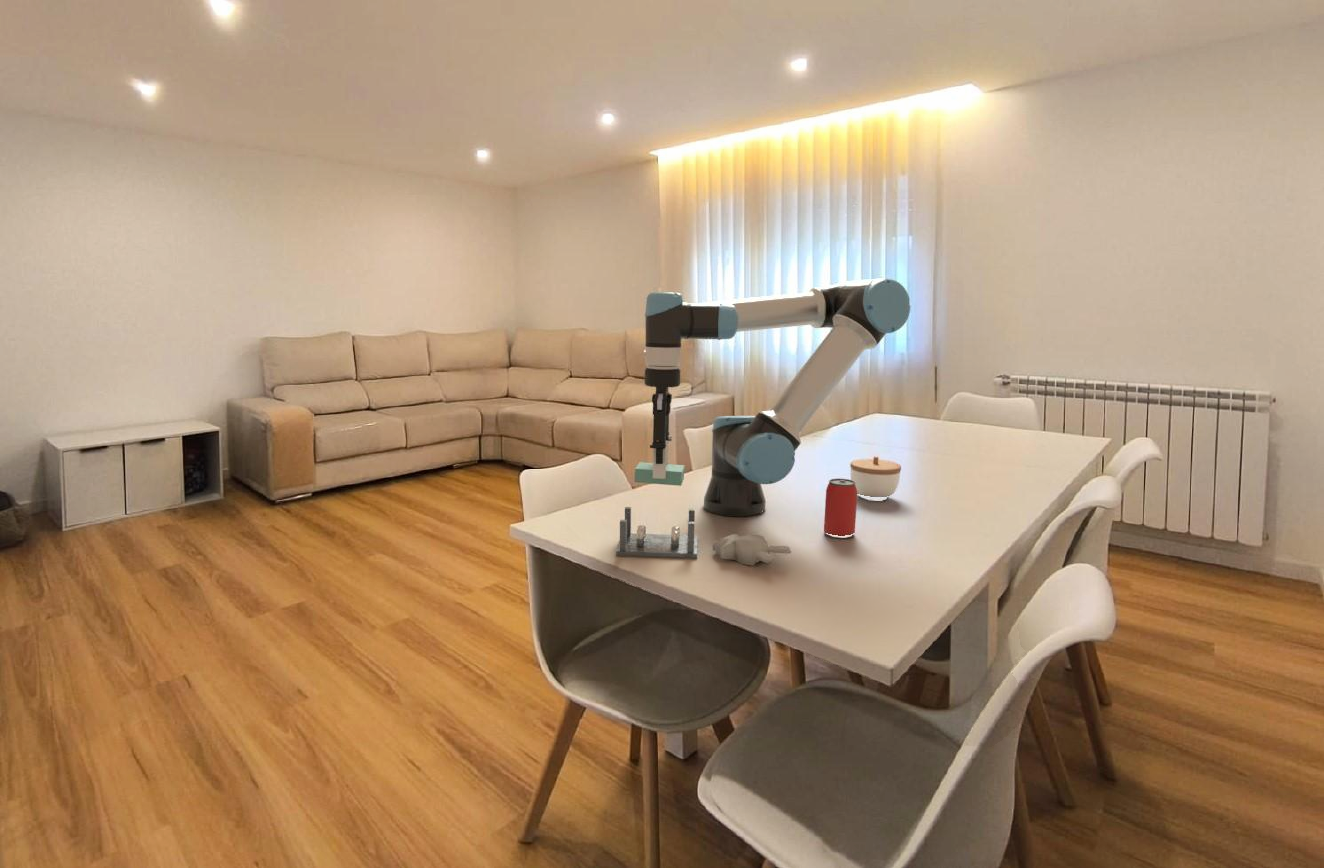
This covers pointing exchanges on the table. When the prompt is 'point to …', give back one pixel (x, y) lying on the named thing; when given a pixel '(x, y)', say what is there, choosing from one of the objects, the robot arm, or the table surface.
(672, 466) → the green rectangular block
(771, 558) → the bunny figurine
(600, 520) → the table surface
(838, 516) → the beer can
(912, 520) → the table surface
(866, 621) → the table surface
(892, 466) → the lidded bowl
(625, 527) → the chassis
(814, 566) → the table surface
